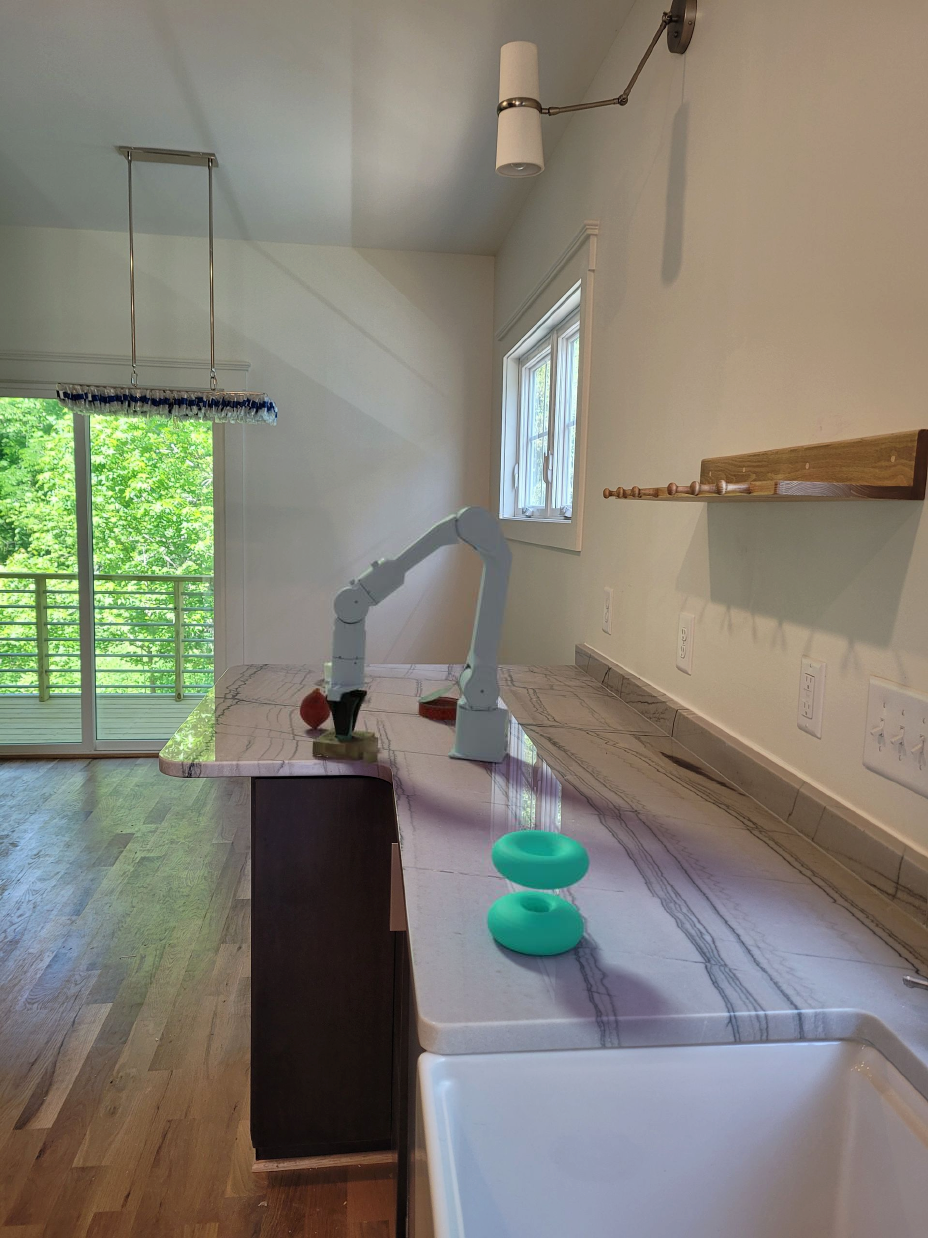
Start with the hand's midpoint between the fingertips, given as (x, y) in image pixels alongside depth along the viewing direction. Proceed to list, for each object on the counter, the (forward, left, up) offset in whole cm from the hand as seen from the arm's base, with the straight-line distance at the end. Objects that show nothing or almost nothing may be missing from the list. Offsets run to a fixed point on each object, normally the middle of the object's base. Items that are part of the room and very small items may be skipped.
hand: (344, 733), depth 153 cm
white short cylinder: (+16, -43, -3) cm, 46 cm away
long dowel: (0, 0, -2) cm, 2 cm away
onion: (+10, -12, -3) cm, 16 cm away
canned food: (-10, -34, -4) cm, 36 cm away
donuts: (-40, +57, -3) cm, 70 cm away
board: (0, 0, -3) cm, 3 cm away
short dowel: (-6, +4, -3) cm, 8 cm away
